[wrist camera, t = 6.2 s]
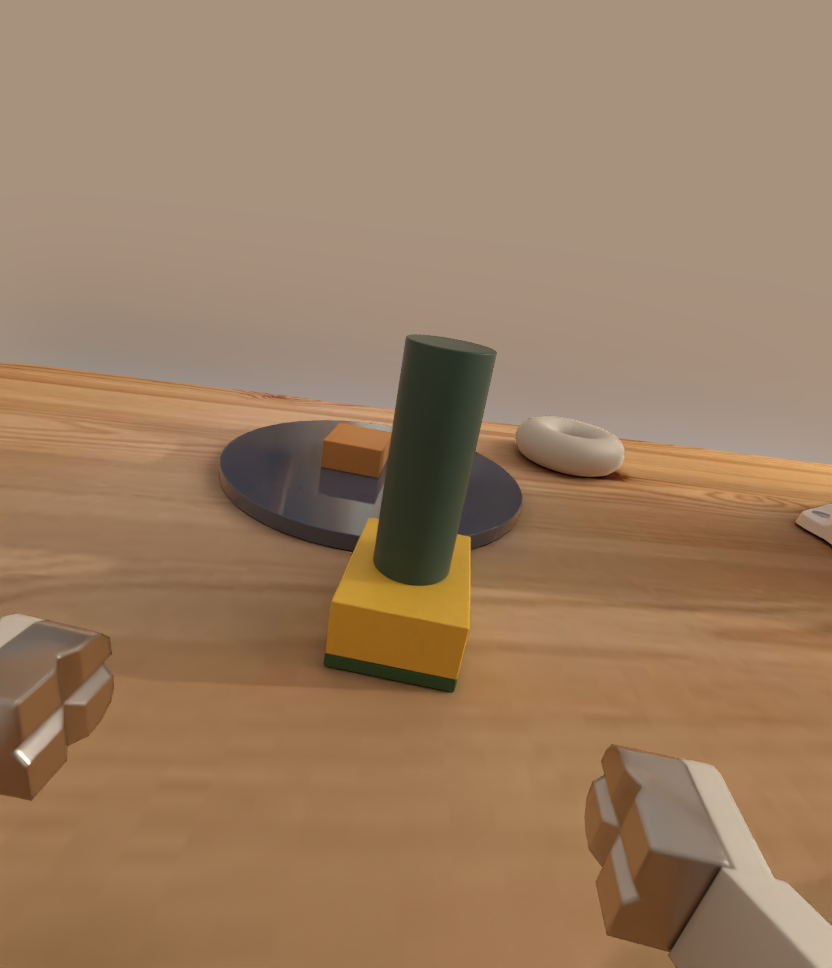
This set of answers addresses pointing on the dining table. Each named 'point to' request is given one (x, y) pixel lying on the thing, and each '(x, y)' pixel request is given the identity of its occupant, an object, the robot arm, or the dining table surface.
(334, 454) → the orange block
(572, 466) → the donut
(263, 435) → the plate
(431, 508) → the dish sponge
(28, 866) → the dining table surface
